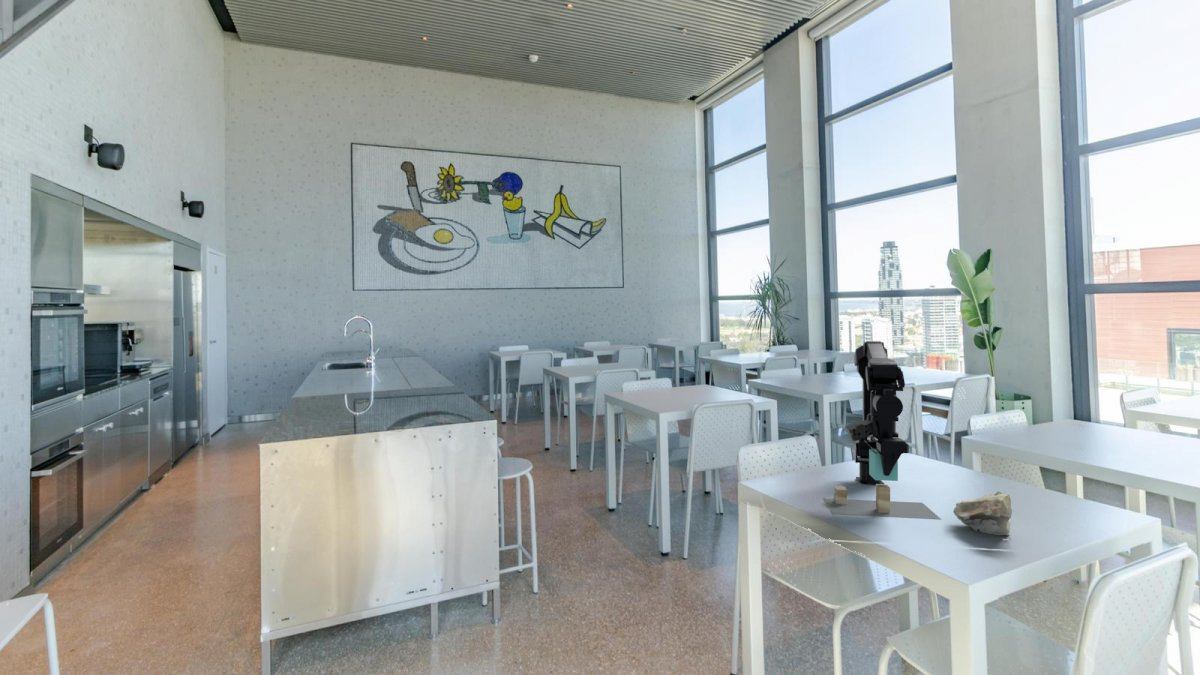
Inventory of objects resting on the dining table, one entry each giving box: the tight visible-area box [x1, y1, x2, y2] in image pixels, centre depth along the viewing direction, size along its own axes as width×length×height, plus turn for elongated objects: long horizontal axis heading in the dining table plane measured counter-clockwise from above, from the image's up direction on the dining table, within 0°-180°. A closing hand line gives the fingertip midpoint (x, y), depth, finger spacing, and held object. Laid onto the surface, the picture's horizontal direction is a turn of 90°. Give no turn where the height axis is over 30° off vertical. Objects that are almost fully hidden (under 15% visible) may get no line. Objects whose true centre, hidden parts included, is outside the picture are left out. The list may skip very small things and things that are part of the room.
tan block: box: [833, 485, 848, 505], centre depth 145 cm, size 3×3×4 cm
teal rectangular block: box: [869, 449, 899, 482], centre depth 138 cm, size 5×5×7 cm
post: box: [875, 483, 891, 513], centre depth 138 cm, size 3×3×6 cm
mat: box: [821, 498, 942, 521], centre depth 140 cm, size 12×25×1 cm, turn 79°
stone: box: [953, 491, 1013, 537], centre depth 125 cm, size 11×14×10 cm
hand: (882, 472), depth 138 cm, fingers closed on teal rectangular block, 5 cm apart
